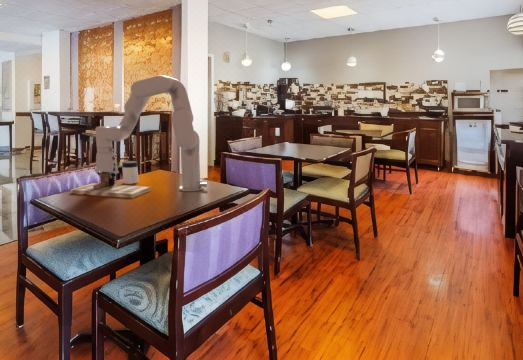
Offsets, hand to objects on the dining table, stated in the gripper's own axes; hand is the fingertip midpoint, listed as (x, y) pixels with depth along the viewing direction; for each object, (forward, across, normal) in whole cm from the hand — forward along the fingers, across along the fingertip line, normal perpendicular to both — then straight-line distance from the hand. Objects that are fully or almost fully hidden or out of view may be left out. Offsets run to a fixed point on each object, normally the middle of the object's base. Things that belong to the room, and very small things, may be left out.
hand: (108, 184), depth 200 cm
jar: (+3, -1, -19) cm, 19 cm away
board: (+3, -5, +4) cm, 7 cm away
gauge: (0, 0, +4) cm, 4 cm away
